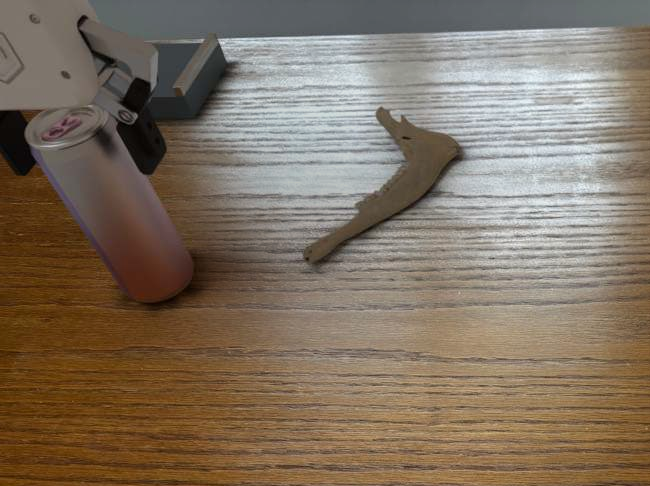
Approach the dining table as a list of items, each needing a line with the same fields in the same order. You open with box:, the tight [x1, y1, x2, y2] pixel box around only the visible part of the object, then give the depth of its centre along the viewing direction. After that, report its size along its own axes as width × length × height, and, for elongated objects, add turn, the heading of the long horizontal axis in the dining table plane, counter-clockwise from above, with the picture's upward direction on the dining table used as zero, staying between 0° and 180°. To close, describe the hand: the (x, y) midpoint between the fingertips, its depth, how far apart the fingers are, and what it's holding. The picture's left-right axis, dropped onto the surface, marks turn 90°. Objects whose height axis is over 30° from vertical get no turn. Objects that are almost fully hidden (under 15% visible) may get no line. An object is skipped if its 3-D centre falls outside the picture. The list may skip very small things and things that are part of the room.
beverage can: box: [24, 102, 195, 304], centre depth 64 cm, size 6×6×15 cm
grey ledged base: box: [104, 32, 229, 120], centre depth 87 cm, size 10×10×4 cm
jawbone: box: [302, 105, 460, 266], centre depth 73 cm, size 9×20×2 cm, turn 168°
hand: (93, 163), depth 60 cm, fingers open, 9 cm apart
